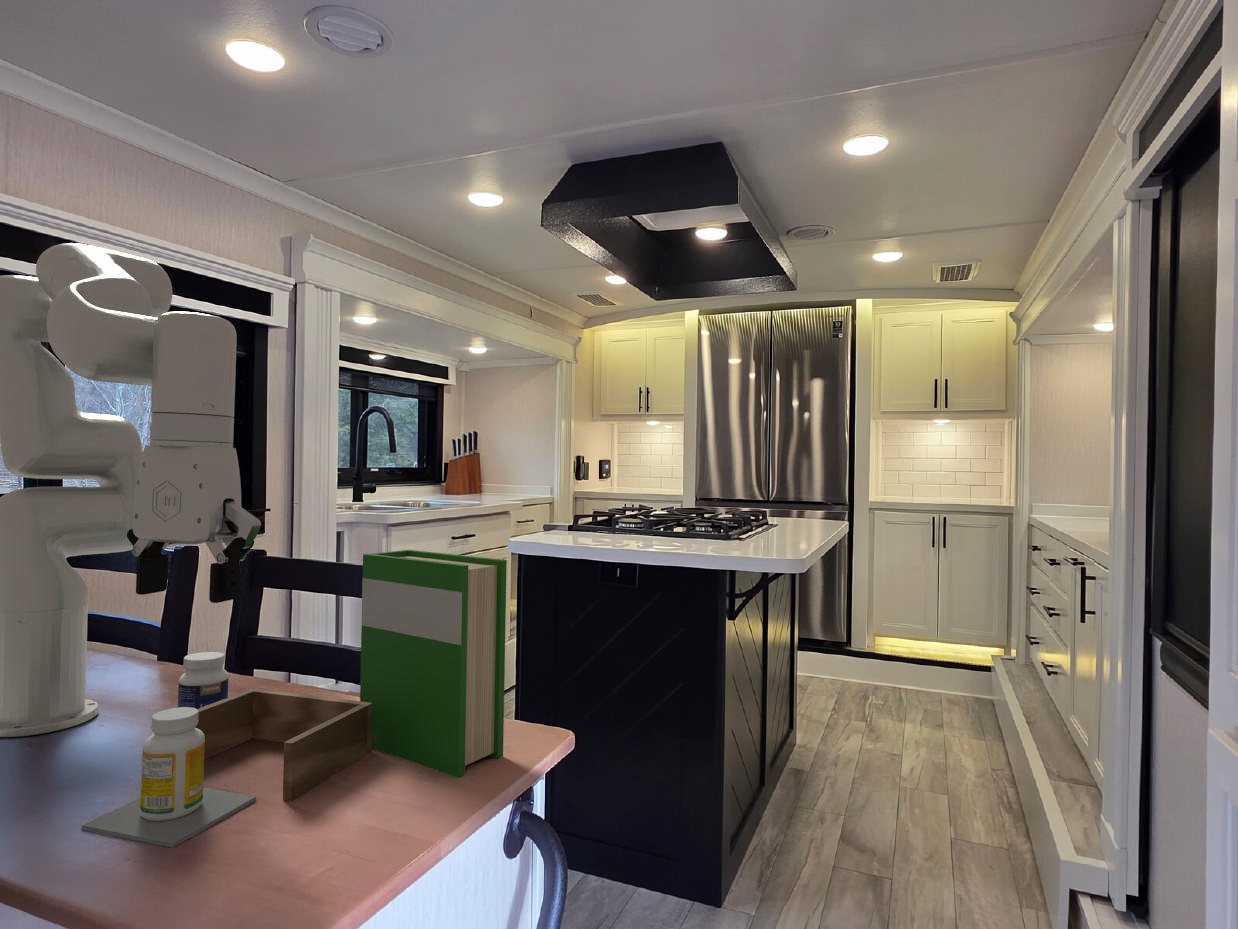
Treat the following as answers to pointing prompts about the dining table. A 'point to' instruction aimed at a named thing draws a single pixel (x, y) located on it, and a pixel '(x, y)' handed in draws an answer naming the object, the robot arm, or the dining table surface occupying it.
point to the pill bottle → (203, 680)
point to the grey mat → (173, 831)
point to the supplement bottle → (172, 765)
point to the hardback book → (434, 656)
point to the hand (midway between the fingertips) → (187, 596)
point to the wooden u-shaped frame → (292, 732)
